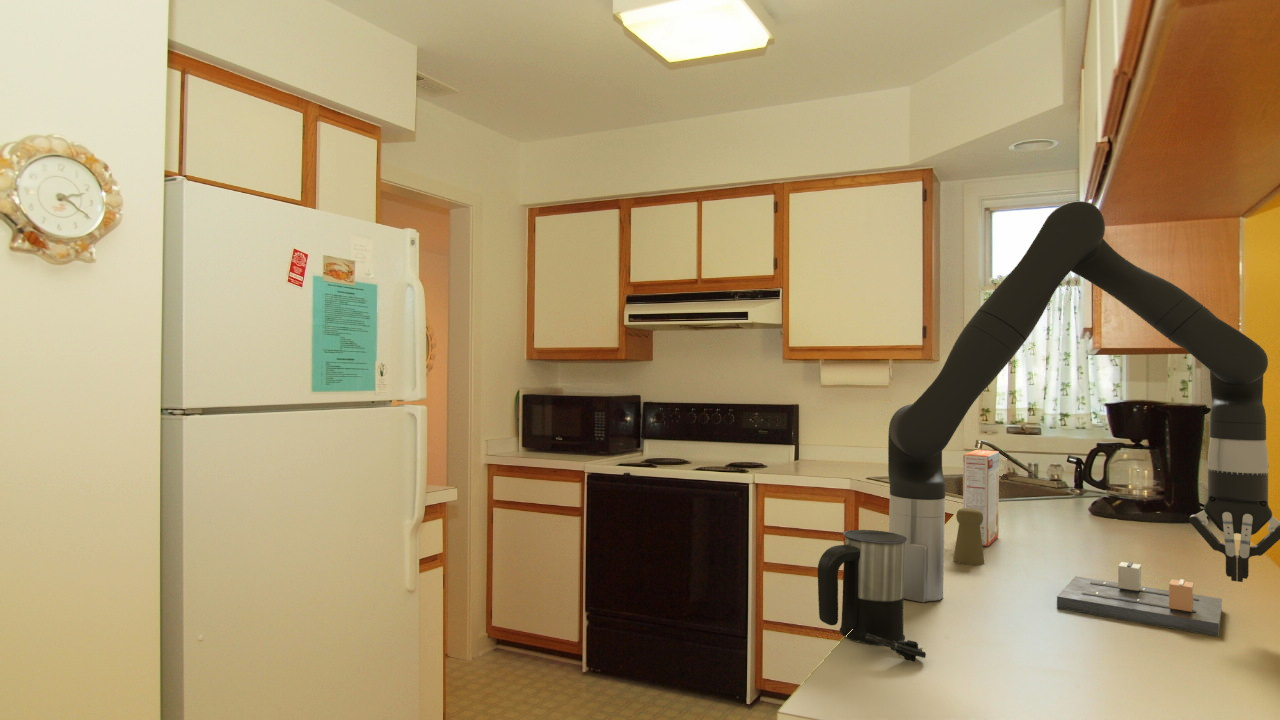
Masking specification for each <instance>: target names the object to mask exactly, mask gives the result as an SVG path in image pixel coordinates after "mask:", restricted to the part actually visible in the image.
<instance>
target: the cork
mask: <svg viewBox="0 0 1280 720" xmlns="http://www.w3.org/2000/svg"><path fill="white" fill-rule="evenodd" d="M955 515H956V521H957V522H958V527H957V535H956V541H955V547H954V554H953V562H955V563H959V564H963V565H969V566H981V565H984V564H985V559H984V549H983V547H984V546H982V538H981V530H980V525H981V524H982V522H983V514H982V512H981V511H980V510H977V509H973V508H963V507H962V508H959V509H958V510H957V512H956V514H955Z"/></svg>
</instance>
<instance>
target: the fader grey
mask: <svg viewBox="0 0 1280 720" xmlns="http://www.w3.org/2000/svg"><path fill="white" fill-rule="evenodd" d="M1117 568H1118V577H1117V578H1118V579H1117V580H1118V581H1117V583H1118V588H1123V589H1129V590H1136V591H1139V589H1140V587H1141V586H1142V564H1140V563H1134V562H1133V561H1129V562H1125V561H1121V562H1120V563H1119V565H1118V567H1117Z"/></svg>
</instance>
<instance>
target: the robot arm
mask: <svg viewBox="0 0 1280 720" xmlns="http://www.w3.org/2000/svg"><path fill="white" fill-rule="evenodd" d="M1045 219H1046V220H1045V221H1044V223H1043V224H1042V226H1041V227H1040V229H1039V231H1038V233H1037V235H1036V237H1034V239H1033V242H1031V244H1030V246H1029V247H1028V249H1027V250H1026V252H1025V254H1024V255H1023V256H1022V258H1021V259H1020V261H1019V262H1018V263H1017V265H1016V266H1015V267H1014V268H1013V269H1012V270H1011V271H1010V273H1009V274H1007V276H1006V277H1005V278H1004V279H1003V280H1002V281H1001V282H1000V283H999V285H998V286H997V287H996V288H995V289H994V291H993V292H992V293H991V294H990V295H989V296H988V297H987V299H986V300H985V301H984V302H983V304H982V305H981V306H980V307H979V308H978V309H977V311H976V312H975V313H974V315H973V316H972V317H971V318H970V320H969V321H968V323H966V325H965V326H964V328H963V329H962V331H961V332H960V334H959V336H958V337H957V339H956V341H955V342H954V344H953V347H952V349H951V350H950V352H949V354H948V357H946V361H945V362H944V365H943V366H942V368H941V370H940V372H939V374H937V376H936V377H935V379H934V380H933V382H932V383H931V384H930V385H929V386H927V388H926V389H925V391H924V392H923V393H922V394H921V395H920V396H919V397H918V398H917V400H915V401H914V402H913V403H911V404H907V405H904V406H902V407H900V408H899V409H897V410H896V411H895V412H894V413H893V415H892V417H891V419H890V421H889V424H888V425H889V427H888V440H887V441H888V445H887V451H888V453H887V454H888V456H887V457H888V461H887V463H888V465H887V466H888V467H887V470H888V471H887V472H888V481H889V508H888V509H889V510H888V532H891V533H895V534H898V535H903V536H905V537H906V538H907V541H906V542H905V560H904V592H903V600H910V601H914V602H918V603H919V602H920V603H926V602H933V601H939V600H941V599H943V598H944V575H945V573H944V572H945V571H944V568H945V567H944V566H945V565H944V564H945V561H944V560H945V522H946V521H945V515H946V481H945V478H944V473H943V451H944V450H945V448H946V447H947V446H948V445H949V443H950V441H951V439H952V438H953V436H954V434H955V432H956V431H957V429H958V427H959V426H960V424H961V422H963V419H964V418H965V416H966V414H968V411H969V410H970V408H971V407H972V406H973V404H974V403H975V401H976V400H977V399H978V397H980V396H981V394H982V393H983V392H984V391H985V390H986V389H987V388H988V387H989V385H990V384H991V383H992V382H993V381H994V380H995V379H996V378H997V376H999V374H1000V373H1001V372H1002V370H1004V368H1005V367H1006V366H1007V365H1008V363H1009V362H1010V361H1011V360H1012V359H1013V358H1014V357H1015V355H1016V354H1017V352H1018V351H1019V350H1020V349H1021V347H1022V346H1023V345H1024V343H1025V342H1026V341H1027V339H1028V338H1029V337H1030V335H1031V333H1033V331H1034V329H1035V328H1036V326H1037V325H1038V322H1040V320H1041V317H1042V316H1043V314H1044V312H1045V310H1046V308H1047V307H1048V305H1049V303H1050V301H1051V299H1052V297H1053V295H1054V293H1056V290H1057V289H1058V287H1059V286H1060V285H1061V283H1062V282H1063V280H1065V278H1066V277H1067V275H1069V274H1070V272H1072V273H1074V274H1075V275H1078V276H1080V277H1081V278H1083V279H1084V280H1087V281H1088V282H1090V283H1091V284H1093V285H1095V286H1096V287H1097V288H1099V289H1100V290H1102V291H1104V292H1105V293H1107V294H1109V296H1111V297H1112V298H1114V299H1116V300H1117V301H1119V302H1120V303H1121V304H1122V305H1123V306H1125V307H1126V308H1128V309H1129V310H1130V311H1132V312H1133V313H1134V314H1135V315H1137V316H1138V317H1140V318H1141V319H1142V320H1143V321H1145V322H1146V323H1147V324H1149V325H1150V326H1151V327H1152V328H1153V329H1155V330H1156V331H1157V332H1158V333H1160V334H1161V335H1162V336H1164V337H1165V338H1166V339H1168V340H1169V341H1170V342H1172V343H1173V344H1175V345H1177V346H1178V347H1180V348H1182V349H1184V350H1186V352H1188V353H1189V354H1190V355H1192V356H1193V357H1194V358H1195V359H1196V360H1197V361H1199V362H1200V363H1201V364H1202V365H1204V367H1205V368H1208V370H1209V377H1210V379H1209V380H1210V394H1211V395H1210V396H1211V409H1210V414H1209V415H1210V417H1209V418H1210V419H1209V444H1208V451H1207V452H1208V453H1207V501H1206V502H1205V504H1204V506H1203V510H1201V511H1199V512H1198V513H1196V514H1191V515H1190V516H1189V519H1188V522H1189V523H1190V524H1191V525H1192V527H1194V530H1196V532H1197V533H1199V535H1200V536H1201V537H1202V539H1203V540H1204V541H1205V542H1206V543H1207V544H1208V546H1210V548H1211V549H1212V550H1213V551H1215V552H1219V553H1222V554H1223V555H1224V556H1225V575H1226V577H1228V578H1229V577H1230V578H1231V579H1230V581H1232V582H1238V583H1243V582H1244V581H1243V580H1244V579H1245V580H1247V579H1248V577H1249V565H1250V563H1249V561H1250V558H1251V557H1255V556H1259V557H1260V556H1263V555H1265V553H1266V552H1267V551H1269V550H1270V549H1271V548H1272V547H1273V546H1274V545H1275V544H1276V543H1277V542H1278V541H1280V520H1278V519H1277V518H1276V517H1274V516H1273V511H1272V509H1271V508H1270V505H1269V467H1270V465H1269V453H1268V447H1267V416H1266V414H1267V413H1266V409H1265V407H1264V406H1265V405H1264V403H1263V402H1264V401H1263V399H1264V397H1263V396H1264V395H1263V394H1264V376H1265V375H1264V374H1265V373H1266V371H1267V369H1268V366H1269V359H1268V355H1267V353H1266V351H1265V350H1264V349H1263V347H1262V346H1261V345H1260V344H1258V343H1257V342H1256V341H1254V340H1253V339H1251V338H1250V337H1248V336H1247V335H1246V334H1244V333H1242V332H1241V331H1239V330H1237V328H1235V327H1233V326H1232V325H1230V324H1228V323H1226V321H1224V320H1221V318H1218V317H1217V315H1215V314H1214V313H1213V312H1212V311H1211V310H1210V309H1208V308H1207V307H1206V306H1205V305H1203V304H1202V303H1201V302H1200V301H1199V300H1197V299H1195V298H1194V297H1193V296H1191V295H1190V294H1189V293H1187V292H1185V290H1183V289H1182V288H1180V287H1178V286H1176V285H1175V284H1174V283H1172V282H1171V281H1168V280H1166V279H1164V278H1162V277H1160V276H1158V275H1155V274H1154V273H1152V272H1150V271H1147V270H1146V269H1143V268H1141V267H1140V266H1137V265H1135V264H1134V263H1132V262H1130V260H1129V261H1128V259H1126V258H1125V257H1123V256H1122V255H1120V254H1119V253H1118V252H1117V251H1116V250H1115V249H1114V248H1113V247H1112V246H1111V245H1110V244H1109V243H1108V242H1107V241H1106V240H1105V239H1104V236H1105V232H1106V223H1105V219H1104V216H1103V214H1102V212H1101V210H1100V209H1099V208H1098V207H1097V206H1095V205H1094V204H1092V203H1091V202H1088V201H1081V200H1080V201H1079V200H1077V201H1070V202H1066V203H1064V204H1062V205H1060V206H1058V207H1057V208H1055V209H1054V210H1053V211H1052V212H1051V213H1050V214H1049V215H1048V216H1047V217H1046V218H1045ZM1207 517H1208V518H1209V519H1210V521H1212V523H1213V524H1214V525H1215V526H1216V527H1217V529H1218V530H1219V531H1221V532H1222V533H1223V537H1224V543H1223V542H1221V541H1220V540H1219V539H1218V538H1217V537H1216V536H1215V534H1214V533H1213V532H1212V531H1211V530H1210V528H1209V527H1207V526H1208V525H1209V521H1208V518H1207ZM1267 523H1268V524H1269V525H1268V526H1267V531H1268V532H1269V533H1268V534H1267V535H1265V537H1263V538H1262V539H1261V540H1260V541H1258V543H1257V544H1256V545H1252V546H1251V539H1252V536H1253V535H1256V534H1257V533H1259V531H1260V530H1261V529H1262V528H1263V527H1264V526H1265V525H1266V524H1267ZM1235 534H1239V535H1240V539H1239V541H1240V542H1239V548H1238V555H1237V554H1236V543H1235V542H1236V541H1235Z"/></svg>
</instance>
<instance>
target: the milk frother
mask: <svg viewBox="0 0 1280 720" xmlns="http://www.w3.org/2000/svg"><path fill="white" fill-rule="evenodd" d="M842 534H843V536H844V538H845V539H844V544H840V545H833V546H831V547H829V548H828V549H826V550H825V551H824V552H823V554H822V555H821V556H820V558H819V561H818V565H817V593H818V594H817V596H818V598H817V599H818V616H819V620H820V621H821V622H822V623H824V624H826V625H829V626H836V625H838V622H839V577H838V576H839V569H840V568H841V566H842V565H843V575H842V576H843V578H842V579H843V580H842V581H843V582H842V604H841V606H842V607H841V625H840V627H839V633H840V635H842V636H843V637H845V636H846V635H847V634H848V633H849V632H850V631H851V630H852V629H853V630H852V631H851V632H850V633H849V634H848V635H847V637H845V638H846V639H848V640H851V641H852V642H853V641H854V642H857V643H861V644H865V645H874V646H884V647H887V648H890V650H891V651H894V652H895V653H896V654H897V655H899V656H901V657H903V658H904V660H905V661H909V662H913V663H914V662H915V661H916V659H917V658H916V657H919V658H923V659H925V658H926V657H927V656H926V655H927V654H926V651H923V648H922V647H919V643H918V642H917V641H914V640H907V641H905V639H906V636H905V635H904V599H903V592H904V560H905V542H906V541H907V538H906V537H905V536H903V535H898V534H895V533H891V532H889V531H886V530H885V531H884V530H874V529H851V530H846V531H844V532H842Z"/></svg>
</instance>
